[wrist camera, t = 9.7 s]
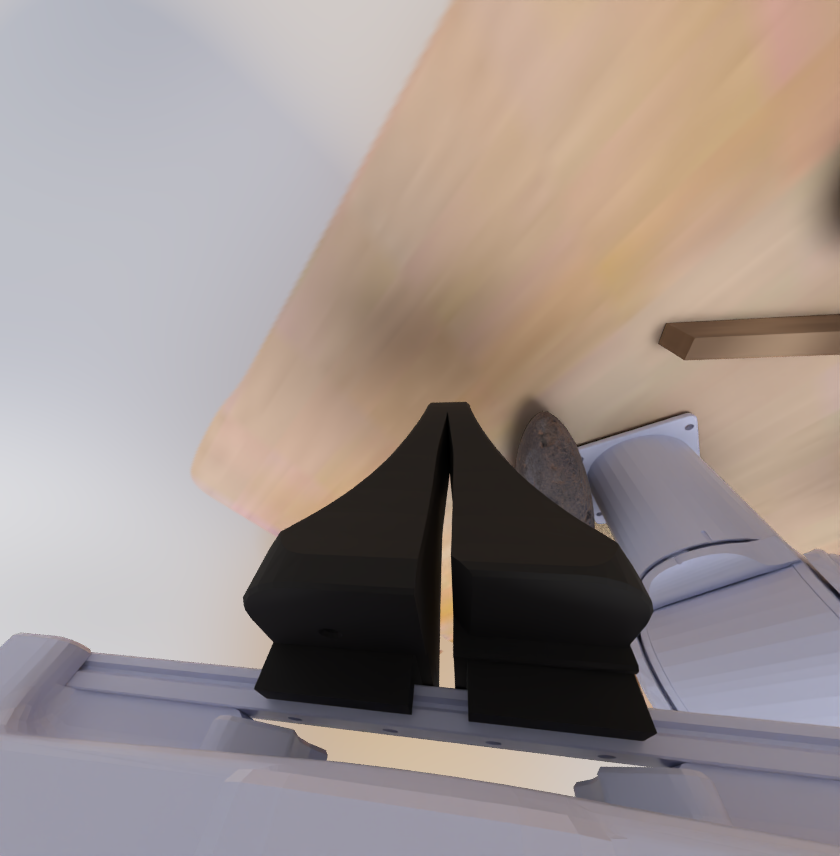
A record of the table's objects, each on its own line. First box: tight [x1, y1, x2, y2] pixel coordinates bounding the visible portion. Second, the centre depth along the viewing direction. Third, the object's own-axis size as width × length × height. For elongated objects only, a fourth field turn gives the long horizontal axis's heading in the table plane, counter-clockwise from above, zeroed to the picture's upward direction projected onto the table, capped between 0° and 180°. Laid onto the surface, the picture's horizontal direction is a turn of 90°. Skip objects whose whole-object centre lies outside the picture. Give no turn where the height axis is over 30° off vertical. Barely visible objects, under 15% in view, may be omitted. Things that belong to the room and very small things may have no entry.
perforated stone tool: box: [515, 411, 595, 528], centre depth 22 cm, size 15×5×7 cm, turn 14°
